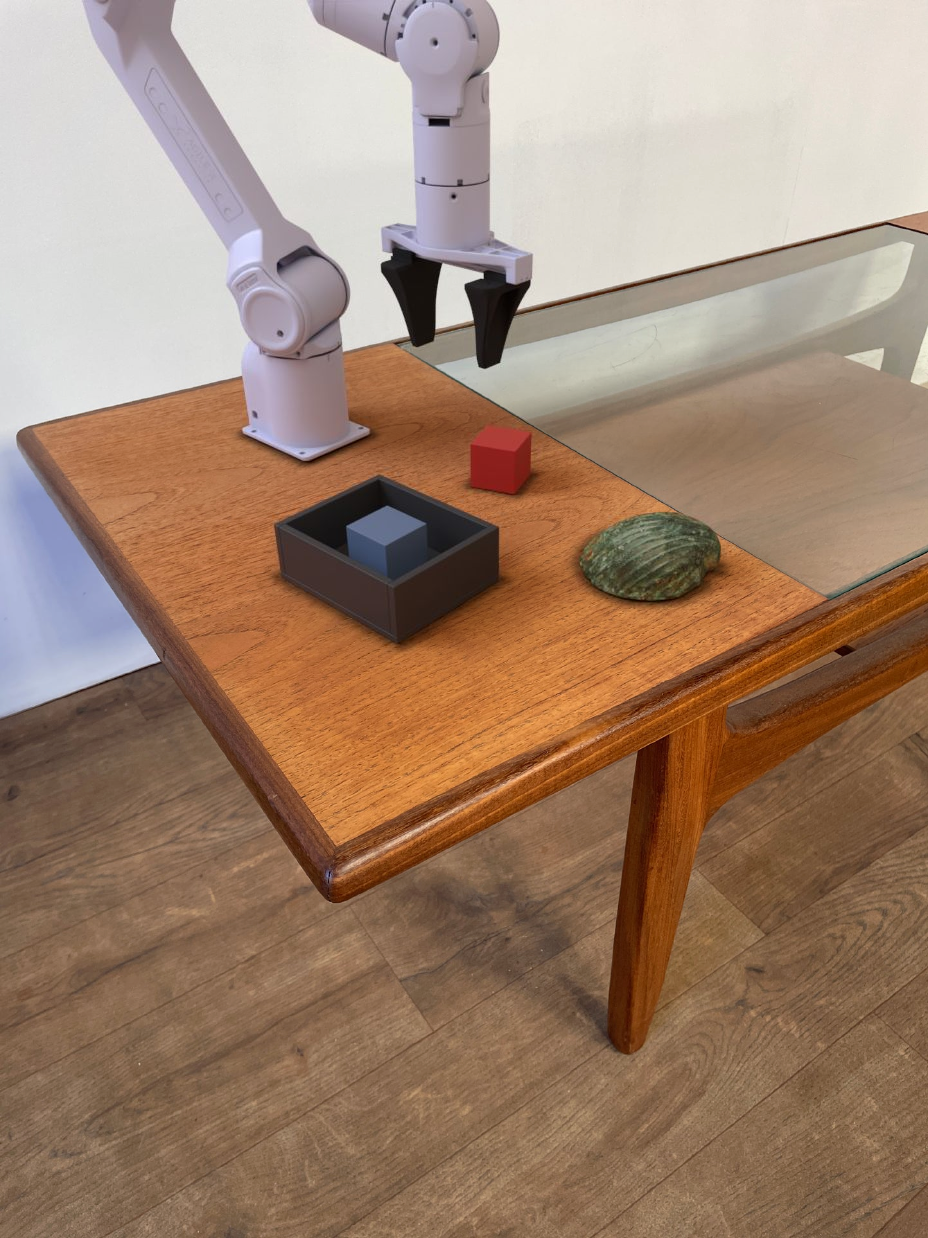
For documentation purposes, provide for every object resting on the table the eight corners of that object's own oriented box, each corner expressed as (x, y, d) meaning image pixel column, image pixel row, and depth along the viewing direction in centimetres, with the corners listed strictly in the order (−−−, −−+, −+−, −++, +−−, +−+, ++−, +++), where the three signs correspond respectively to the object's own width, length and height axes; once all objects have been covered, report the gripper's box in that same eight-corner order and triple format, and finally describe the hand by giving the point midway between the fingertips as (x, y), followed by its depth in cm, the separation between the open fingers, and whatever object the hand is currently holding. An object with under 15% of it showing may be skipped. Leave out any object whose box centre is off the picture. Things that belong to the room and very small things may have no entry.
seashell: (590, 478, 73) (726, 490, 71) (587, 523, 76) (717, 535, 74) (576, 555, 65) (726, 571, 64) (572, 602, 68) (717, 618, 66)
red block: (470, 486, 81) (469, 443, 79) (487, 466, 84) (487, 424, 82) (514, 495, 80) (515, 451, 78) (530, 474, 83) (532, 431, 81)
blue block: (350, 574, 69) (345, 525, 67) (390, 552, 72) (387, 505, 70) (388, 594, 67) (385, 545, 65) (428, 571, 70) (426, 523, 67)
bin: (281, 577, 70) (273, 523, 68) (382, 524, 76) (379, 473, 74) (397, 644, 63) (393, 587, 61) (499, 580, 69) (499, 526, 67)
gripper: (560, 182, 71) (553, 361, 79) (421, 159, 79) (427, 323, 87) (498, 199, 67) (496, 386, 75) (357, 172, 75) (369, 343, 83)
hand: (455, 354), depth 81 cm, fingers open, 7 cm apart
